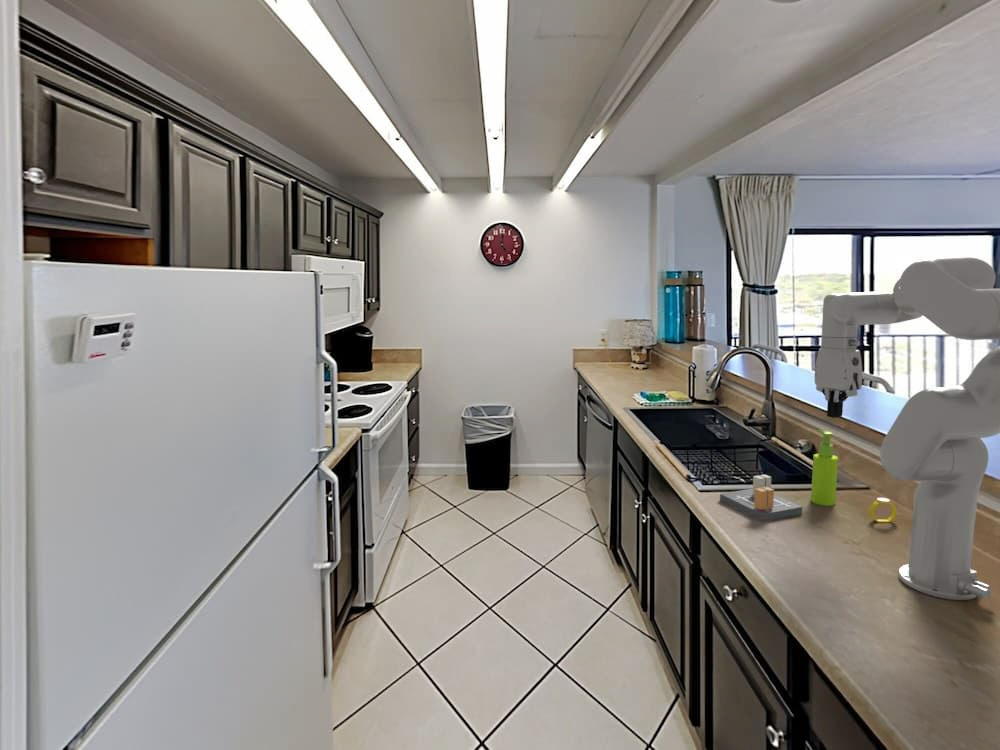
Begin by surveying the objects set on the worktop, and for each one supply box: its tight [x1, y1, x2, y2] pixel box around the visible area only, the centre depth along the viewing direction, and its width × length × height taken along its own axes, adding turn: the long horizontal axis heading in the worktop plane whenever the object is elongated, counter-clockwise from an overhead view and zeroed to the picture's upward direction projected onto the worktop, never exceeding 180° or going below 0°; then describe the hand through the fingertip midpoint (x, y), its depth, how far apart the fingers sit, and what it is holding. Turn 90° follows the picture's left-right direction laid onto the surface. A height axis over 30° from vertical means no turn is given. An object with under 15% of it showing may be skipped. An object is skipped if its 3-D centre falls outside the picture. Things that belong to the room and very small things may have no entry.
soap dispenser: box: [810, 429, 839, 507], centre depth 154 cm, size 6×7×20 cm
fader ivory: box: [752, 474, 772, 494], centre depth 156 cm, size 2×4×5 cm, turn 109°
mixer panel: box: [719, 488, 803, 522], centre depth 153 cm, size 16×13×2 cm
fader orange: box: [754, 487, 775, 510], centre depth 146 cm, size 2×4×5 cm, turn 108°
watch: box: [868, 497, 898, 524], centre depth 141 cm, size 6×3×6 cm, turn 85°
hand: (834, 416), depth 140 cm, fingers closed
